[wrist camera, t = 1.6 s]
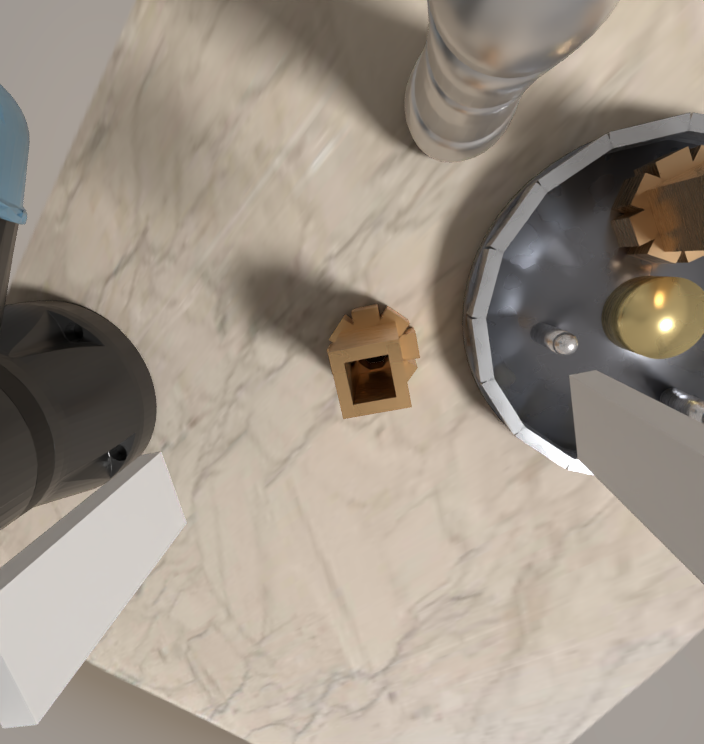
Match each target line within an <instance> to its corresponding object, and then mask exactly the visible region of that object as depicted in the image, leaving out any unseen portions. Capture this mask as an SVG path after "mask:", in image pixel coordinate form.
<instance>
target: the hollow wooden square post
mask: <svg viewBox="0 0 704 744" xmlns="http://www.w3.org/2000/svg"><path fill="white" fill-rule="evenodd" d="M351 314H352V318H350V317H349V316H347V315H346V314H345V315H344V317H343V318H342V320H341V321H340V323H339V324H338V326H337V327H336V329H335V330H334V332H333V334H332V335H331V337H330V338H329V341H331V342H333V343H332V344H330V345H329V347H328V349H327V353H328V357H329V362H330V366H331V371H332V374H333V376H334V381H335V385H336V389H337V394H338V398H339V402H340V407H341V411H342V415H343V419H346V418H352V417H358V416H363V415H369V414H375V413H380V412H386V411H392V410H397V409H403V408H409V407H412V405H411V400H410V395H409V389H408V384H407V382H408V380H409V379H410V378H411V376H412V375H413V373H414V372H415V371H416V369H417V368H418V367H417V364H416V361H415V360H414V359H416V358H420V355H419V350H418V344H417V338H416V333H415V330H414V328H408V329H406V328H407V327H408V325H409V324H410V323H409V321H408V319H407V318H405V317H404V316H402V315H401V314H399V313H398V312H396V311H395V310H393V309H392V308H390V307H389V306H387V307H386V308H385V310H384V311H383V313H382V314H381V316H380V314H379V308H378V304H374V305H369V306H364V307H359V308H355V309H353V310H352V311H351ZM382 355H386V356H385V358H384V359H383V361H378V362H373V363H370V362H368V361H367V360H365V359H366V358H372V357H377V356H382Z"/></svg>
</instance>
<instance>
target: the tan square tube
mask: <svg viewBox="0 0 704 744" xmlns="http://www.w3.org/2000/svg"><path fill="white" fill-rule="evenodd" d="M634 174H635V177H632V178H629V179H626V180H624V182H623V184H622V186H621V188H620V191H619V193H618V195H617V197H616V199H615V201H614V204H613V206H612V208H611V210H614V211H617V212H620V213H623V214H624V215H622V216H620V217H618V218H616V219H613V220H611V221H610V222H611V225H612V228H613V231H614V234H615V236H616V239H617V242H618V245H619V247H630V249H629V251H628V254H627V255H629V256H632V257H635V258H638V259H641V260H644V261H647V262H650V263H653V264H676V263H689V262H691V261H693V260H695V259H697V258H700V257H702V256H704V145H699V146H697V147H694V148H691V149H689V147H688V146H687V147H684V148H682V149H679V150H676V151H674V152H671V153H669V154H666V155H663V156H661V157H659V158H657V159H655V160H653V161H651V162H649V163H647V164H645V165H643V166H641V167H639V168H638V169H636V170H634Z"/></svg>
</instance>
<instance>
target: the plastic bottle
mask: <svg viewBox="0 0 704 744" xmlns="http://www.w3.org/2000/svg"><path fill="white" fill-rule="evenodd" d="M618 2H619V0H428V20H429V23H428V32H427V41H426V44H425V47H424V50H423V51H422V52H421V54H420V56H419V58H418V60H417V61H416V63H415V65H414V68H413V70H412V72H411V74H410V77H409V80H408V83H407V86H406V92H405V98H404V102H405V116H406V122H407V125H408V128H409V130H410V133H411V136H412V138H413V140H414V141H415V143H416V144H417V146H418V147H419V148H420V149H421V150H422V151H423V152H424V153H425V154H427V155H428V156H430V157H431V158H433V159H436V160H438V161H441V162H449V163H452V162H461V161H464V160H468V159H471V158H474V157H476V156H478V155H480V154H482V153H484V152H485V151H487V150H488V149H489V148H490V147H492V146H493V145H494V144H495V143H496V142H497V141H498V140H499V138H500V137H501V136H502V135H503V134H504V132H505V130H506V129H507V127H508V125H509V124H510V122H511V120H512V118H513V116H514V113H515V111H516V108H517V106H518V104H519V100H520V98H521V96H522V95H523V93H524V92H525V90H526V89H528V88H529V87H530V86H531V85H532V84H533V83H534V82H535V81H536V80H537V79H538V78H539V77H540V76H542V75H543V74H545V73H546V72H547V71H549V70H550V69H552V68H553V67H554V66H556V65H557V64H558V63H560V62H561V61H563V60H564V59H566V58H567V57H568V56H569V55H570V54H572V53H573V52H574V51H575V50H577V49H578V48H579V47H580V46H581V45H582V44H583V43H584V42H585V41H586V40H588V39H589V38H590V37H591V36H592V35H593V34H594V33H595V32H596V31H597V30H598V28H599V27H600V26H601V25H602V24H603V23H604V22H605V21H606V19H607V18H608V17H609V16H610V14H611V13H612V11H613V10H614V8H615V6H616V5H617V3H618Z"/></svg>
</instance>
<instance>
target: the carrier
mask: <svg viewBox="0 0 704 744" xmlns="http://www.w3.org/2000/svg"><path fill="white" fill-rule="evenodd" d="M699 145H704V114H698V113H691V114H690V113H687V114H683V115H679V116H674V117H670V118H666V119H662V120H658V121H654V122H649V123H645V124H641V125H637V126H633V127H629V128H624V129H620V130H616V131H612V132H609V133H606V134H605V135H603V136H601V137H600V138H598V139H596V140H594V141H592V142H590V143H588V144H585V145H583V146H581V147H579V148H577V149H576V150H574V151H572V152H571V153H569V154H567V155H566V156H564V157H562V158H561V159H559V160H557V161H556V162H554V163H552V164H551V165H549V166H548V167H547V168H546V169H544V170H543V171H542V172H540V173H539V174H538V175H537V176H535V177H534V178H533V179H531V180H530V181H529V182H528V183H527V184H526V185H525V186H524V187H523V188H522V189H521V190H520V191H519V192H518V193H517V194H516V195H515V196H514V197H513V198H512V199H511V200H510V202H509V203H508V204H507V205H506V207H505V208H504V209H503V210H502V212H501V213H500V214H499V215H498V217H497V218H496V220H495V221H494V223H493V224H492V226H491V228H490V229H489V231H488V233H487V234H486V236H485V237H484V239H483V242H482V244H481V246H480V248H479V250H478V252H477V255H476V257H475V259H474V262H473V265H472V268H471V271H470V274H469V277H468V281H467V286H466V291H465V297H464V302H463V321H462V325H463V337H464V346H465V350H466V355H467V359H468V363H469V366H470V369H471V371H472V374H473V377H474V379H475V382H476V384H477V386H478V387H479V389H480V391H481V393H482V395H483V397H484V398H485V400H486V401H487V402H488V404H489V405H490V406H491V408H492V409H493V410H494V412H495V413H496V414H497V416H498V417H499V418H500V420H501V421H502V422H503V423H504V424H505V425H506V426H507V427H508V428H509V429H510V430H511V432H512V433H513V434H514V435H515V436H516V437H517V438H519V439H520V440H522V441H523V442H525V443H526V444H528V445H529V446H531V447H532V448H534V449H535V450H537V451H538V452H540V453H541V454H543V455H545V456H546V457H548V458H549V459H551V460H552V461H554V462H555V463H557V464H558V465H560V466H561V467H563V468H564V469H567V470H570V471H575V472H580V473H585V474H590V475H593V474H592V473H591V472H590V471H589V470H588V469H587V468H586V467H585V466H584V465H583V464H582V463H581V462H580V461H579V460H578V456H577V446H576V437H575V427H574V417H573V408H572V398H571V388H570V378H569V375H573V374H578V373H583V372H589V371H594V370H597V371H599V372H601V373H603V374H605V375H607V376H609V377H611V378H613V379H615V380H617V381H619V382H621V383H623V384H625V385H627V386H629V387H631V388H633V389H635V390H637V391H639V392H641V393H643V394H645V395H647V396H649V397H651V398H653V399H655V400H657V401H659V402H661V403H663V404H665V405H667V406H669V407H671V408H673V409H675V410H677V411H679V412H681V413H683V414H685V415H687V416H689V417H691V418H693V419H695V420H697V421H699V422H701V423H703V424H704V256H702V257H700V258H697V259H695V260H693V261H691V262H689V263H676V264H653V263H650V262H647V261H644V260H641V259H638V258H635V257H632V256H629V255H627V254H628V251H629V249H630V247H619V245H618V242H617V239H616V236H615V234H614V231H613V228H612V225H611V222H610V221H611V220H613V219H616V218H618V217H620V216H622V215H624V214H623V213H620V212H617V211H614V210H611V208H612V206H613V204H614V201H615V199H616V197H617V195H618V193H619V191H620V188H621V186H622V184H623V182H624V180H626V179H629V178H632V177H635V174H634V170H636V169H638V168H639V167H641V166H643V165H645V164H647V163H649V162H651V161H653V160H655V159H657V158H659V157H661V156H663V155H666V154H669V153H671V152H674V151H676V150H679V149H682V148H684V147H687V146H688V147H689V149H691V148H694V147H697V146H699Z"/></svg>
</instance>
